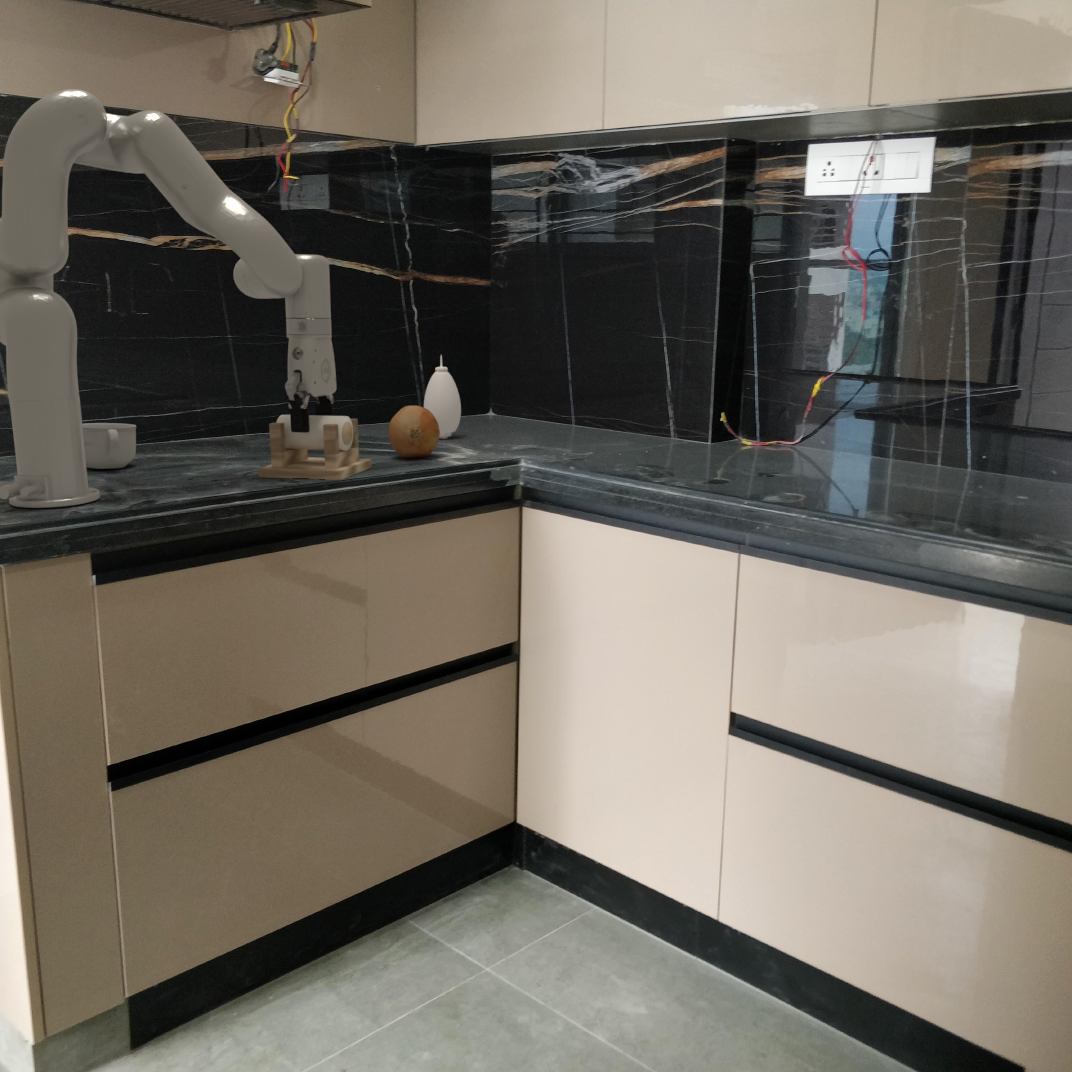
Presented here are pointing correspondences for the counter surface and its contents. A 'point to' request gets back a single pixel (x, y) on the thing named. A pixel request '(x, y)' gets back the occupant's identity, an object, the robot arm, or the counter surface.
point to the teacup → (109, 444)
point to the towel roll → (317, 432)
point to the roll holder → (302, 466)
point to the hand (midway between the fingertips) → (312, 429)
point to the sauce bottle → (443, 401)
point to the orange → (414, 432)
